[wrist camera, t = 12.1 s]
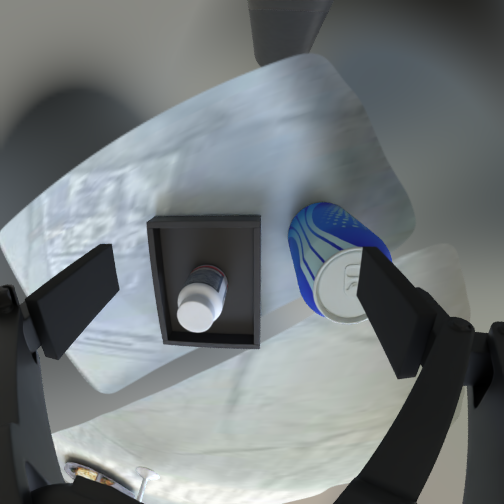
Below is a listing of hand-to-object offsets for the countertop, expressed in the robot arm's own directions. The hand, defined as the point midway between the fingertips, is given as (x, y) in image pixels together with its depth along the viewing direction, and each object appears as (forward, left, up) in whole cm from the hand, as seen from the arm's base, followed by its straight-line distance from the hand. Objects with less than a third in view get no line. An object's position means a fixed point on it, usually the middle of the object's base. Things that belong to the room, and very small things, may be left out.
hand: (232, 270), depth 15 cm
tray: (+11, -6, -23) cm, 26 cm away
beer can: (+4, +9, -23) cm, 25 cm away
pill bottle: (+11, -6, -22) cm, 26 cm away
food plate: (+83, -49, -23) cm, 99 cm away
